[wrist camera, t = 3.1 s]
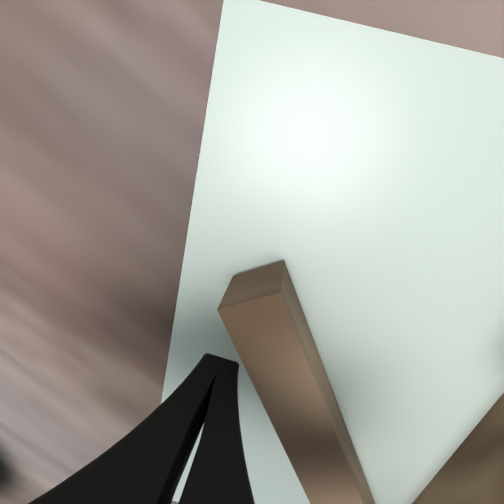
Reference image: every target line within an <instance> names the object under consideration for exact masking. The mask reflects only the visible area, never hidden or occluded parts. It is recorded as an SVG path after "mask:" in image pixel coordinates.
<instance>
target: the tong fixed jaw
mask: <svg viewBox="0 0 504 504" xmlns="http://www.w3.org/2000/svg"><path fill="white" fill-rule="evenodd" d="M412 504H504V393H503V394H502V395H501V396H500V398H499V399H498V400H497V401H496V402H495V404H494V405H493V406H492V407H491V409H490V410H489V411H488V412H487V413H486V415H485V416H484V417H483V418H482V419H481V421H480V422H479V423H478V424H477V425H476V427H475V428H474V429H473V430H472V432H471V433H470V434H469V435H468V436H467V438H466V439H465V440H464V441H463V442H462V444H461V445H460V446H459V447H458V448H457V450H456V451H455V452H454V453H453V455H452V456H451V457H450V458H449V459H448V461H447V462H446V463H445V464H444V465H443V467H442V468H441V469H440V470H439V471H438V473H437V474H436V475H435V476H434V478H433V479H432V480H431V481H430V482H429V484H428V485H427V486H426V487H425V488H424V490H423V491H422V492H421V493H420V494H419V496H418V497H417V498H416V499H415V501H414V502H413V503H412Z"/></svg>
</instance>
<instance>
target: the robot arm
mask: <svg viewBox="0 0 504 504" xmlns="http://www.w3.org/2000/svg"><path fill="white" fill-rule="evenodd" d="M238 370H239V364H238V362H236V361H232V360H229V359H226V358H222V357H219V356H216V355H212V354H209V353H206V354H204V355H203V357H202V358H201V360H200V361H199V362H198V364H197V365H196V366H195V368H194V369H193V370H192V371H191V373H190V374H189V375H188V376H187V377H186V379H185V380H184V381H183V382H182V383H181V384H180V385H179V386H178V387H177V388H176V389H175V391H174V392H173V393H172V394H171V395H170V396H169V397H168V398H167V399H166V400H165V401H164V402H163V403H162V404H161V405H160V406H159V407H158V408H157V409H156V410H154V411H153V412H152V413H151V414H150V415H149V416H148V417H147V418H146V419H145V420H144V421H142V422H141V423H140V424H139V425H138V426H137V427H136V428H134V429H133V430H132V431H131V432H130V433H128V434H127V435H126V436H125V437H124V438H122V439H121V440H120V441H118V442H117V443H116V444H115V445H113V446H112V447H111V448H110V449H108V450H107V451H106V452H104V453H103V454H102V455H100V456H99V457H98V458H96V459H95V460H94V461H92V462H91V463H89V464H88V465H86V466H85V467H83V468H82V469H81V470H79V471H78V472H76V473H75V474H73V475H72V476H70V477H69V478H67V479H66V480H65V481H63V482H62V483H60V484H59V485H57V486H56V487H54V488H53V489H51V490H49V491H48V492H46V493H45V494H43V495H41V496H40V497H38V498H37V499H35V500H33V501H32V502H30V503H28V504H171V502H172V499H173V496H174V494H175V491H176V489H177V486H178V484H179V481H180V479H181V476H182V474H183V472H184V469H185V467H186V464H187V462H188V460H189V457H190V455H191V452H192V450H193V448H194V445H195V443H196V440H197V438H198V436H199V433H200V431H201V428H202V426H203V429H202V433H201V438H200V442H199V445H198V448H197V451H196V453H195V456H194V459H193V462H192V465H191V468H190V471H189V474H188V477H187V480H186V483H185V486H184V489H183V492H182V494H181V497H180V500H179V503H178V504H255V502H254V498H253V494H252V490H251V485H250V481H249V476H248V471H247V466H246V461H245V456H244V450H243V443H242V436H241V429H240V420H239V408H238ZM203 424H204V425H203Z"/></svg>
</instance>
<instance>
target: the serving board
mask: <svg viewBox="0 0 504 504" xmlns="http://www.w3.org/2000/svg"><path fill="white" fill-rule="evenodd" d="M281 261H285V264H286V267H287V269H288V272H289V275H290V277H291V280H292V283H293V285H294V288H295V291H296V293H297V296H298V299H299V301H300V304H301V307H302V309H303V312H304V315H305V317H306V320H307V323H308V325H309V328H310V331H311V333H312V336H313V339H314V341H315V344H316V347H317V349H318V352H319V355H320V357H321V360H322V363H323V365H324V368H325V371H326V373H327V376H328V379H329V381H330V384H331V387H332V389H333V392H334V395H335V397H336V400H337V403H338V405H339V408H340V411H341V413H342V416H343V419H344V422H345V424H346V427H347V430H348V432H349V435H350V438H351V440H352V443H353V446H354V448H355V451H356V454H357V456H358V459H359V462H360V464H361V467H362V470H363V472H364V475H365V478H366V480H367V483H368V486H369V488H370V491H371V494H372V496H373V499H374V502H375V504H412V503H413V502H414V501H415V499H416V498H417V497H418V496H419V494H420V493H421V492H422V491H423V490H424V488H425V487H426V486H427V485H428V484H429V482H430V481H431V480H432V479H433V478H434V476H435V475H436V474H437V473H438V471H439V470H440V469H441V468H442V467H443V465H444V464H445V463H446V462H447V461H448V459H449V458H450V457H451V456H452V455H453V453H454V452H455V451H456V450H457V448H458V447H459V446H460V445H461V444H462V442H463V441H464V440H465V439H466V438H467V436H468V435H469V434H470V433H471V432H472V430H473V429H474V428H475V427H476V425H477V424H478V423H479V422H480V421H481V419H482V418H483V417H484V416H485V415H486V413H487V412H488V411H489V410H490V409H491V407H492V406H493V405H494V404H495V402H496V401H497V400H498V399H499V398H500V396H501V395H502V394H503V393H504V58H500V57H495V56H491V55H487V54H483V53H479V52H474V51H470V50H466V49H462V48H457V47H453V46H449V45H445V44H441V43H436V42H432V41H428V40H424V39H419V38H415V37H411V36H407V35H403V34H398V33H394V32H390V31H386V30H382V29H377V28H373V27H369V26H365V25H360V24H356V23H352V22H348V21H344V20H339V19H335V18H331V17H327V16H322V15H318V14H314V13H310V12H306V11H301V10H297V9H293V8H289V7H284V6H280V5H276V4H272V3H268V2H263V1H259V0H224V2H223V9H222V15H221V22H220V28H219V35H218V41H217V47H216V54H215V60H214V67H213V73H212V79H211V86H210V92H209V99H208V105H207V111H206V118H205V124H204V131H203V137H202V143H201V150H200V156H199V163H198V169H197V176H196V182H195V188H194V195H193V201H192V208H191V214H190V220H189V227H188V233H187V240H186V246H185V252H184V259H183V265H182V272H181V278H180V285H179V291H178V297H177V304H176V310H175V317H174V323H173V329H172V336H171V342H170V349H169V355H168V361H167V368H166V374H165V381H164V387H163V394H162V400H161V404H162V403H163V402H164V401H165V400H166V399H167V398H168V397H169V396H170V395H171V394H172V393H173V392H174V391H175V389H176V388H177V387H178V386H179V385H180V384H181V383H182V382H183V381H184V380H185V379H186V377H187V376H188V375H189V374H190V373H191V371H192V370H193V369H194V368H195V366H196V365H197V364H198V362H199V361H200V360H201V358H202V357H203V355H204V354H206V353H209V354H212V355H216V356H219V357H222V358H226V359H229V360H232V361H236V362H238V364H239V370H238V408H239V420H240V429H241V436H242V443H243V450H244V456H245V461H246V466H247V471H248V476H249V481H250V485H251V490H252V494H253V498H254V502H255V504H310V502H309V500H308V498H307V496H306V494H305V492H304V489H303V487H302V485H301V483H300V481H299V479H298V477H297V475H296V473H295V471H294V469H293V467H292V465H291V462H290V460H289V458H288V456H287V454H286V452H285V450H284V448H283V446H282V444H281V442H280V440H279V438H278V435H277V433H276V431H275V429H274V427H273V425H272V423H271V421H270V419H269V417H268V415H267V413H266V410H265V408H264V406H263V404H262V402H261V400H260V398H259V396H258V394H257V392H256V390H255V388H254V386H253V383H252V381H251V379H250V377H249V375H248V373H247V371H246V369H245V367H244V365H243V363H242V361H241V359H240V356H239V354H238V352H237V350H236V348H235V346H234V344H233V342H232V340H231V338H230V336H229V334H228V332H227V329H226V327H225V325H224V323H223V321H222V319H221V317H220V315H219V313H218V311H217V308H218V306H219V304H220V302H221V300H222V298H223V296H224V294H225V292H226V289H227V287H228V285H229V283H230V281H231V279H232V277H233V275H237V274H240V273H244V272H247V271H250V270H254V269H257V268H260V267H264V266H267V265H271V264H274V263H277V262H281ZM203 425H204V424H203ZM202 429H203V426H202V428H201V431H200V433H199V436H198V438H197V440H196V443H195V445H194V448H193V450H192V452H191V455H190V457H189V460H188V462H187V464H186V467H185V469H184V472H183V474H182V476H181V479H180V481H179V484H178V486H177V489H176V491H175V494H174V496H173V499H172V500H173V501H176V502H179V500H180V497H181V494H182V492H183V489H184V486H185V483H186V480H187V477H188V474H189V471H190V468H191V465H192V462H193V459H194V456H195V453H196V451H197V448H198V445H199V442H200V438H201V433H202Z"/></svg>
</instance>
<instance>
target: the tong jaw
mask: <svg viewBox="0 0 504 504" xmlns="http://www.w3.org/2000/svg"><path fill="white" fill-rule="evenodd" d="M217 311H218V313H219V315H220V317H221V319H222V321H223V323H224V325H225V327H226V329H227V332H228V334H229V336H230V338H231V340H232V342H233V344H234V346H235V348H236V350H237V352H238V354H239V356H240V359H241V361H242V363H243V365H244V367H245V369H246V371H247V373H248V375H249V377H250V379H251V381H252V383H253V386H254V388H255V390H256V392H257V394H258V396H259V398H260V400H261V402H262V404H263V406H264V408H265V410H266V413H267V415H268V417H269V419H270V421H271V423H272V425H273V427H274V429H275V431H276V433H277V435H278V438H279V440H280V442H281V444H282V446H283V448H284V450H285V452H286V454H287V456H288V458H289V460H290V462H291V465H292V467H293V469H294V471H295V473H296V475H297V477H298V479H299V481H300V483H301V485H302V487H303V489H304V492H305V494H306V496H307V498H308V500H309V502H310V504H375V502H374V499H373V496H372V494H371V491H370V488H369V486H368V483H367V480H366V478H365V475H364V472H363V470H362V467H361V464H360V462H359V459H358V456H357V454H356V451H355V448H354V446H353V443H352V440H351V438H350V435H349V432H348V430H347V427H346V424H345V422H344V419H343V416H342V413H341V411H340V408H339V405H338V403H337V400H336V397H335V395H334V392H333V389H332V387H331V384H330V381H329V379H328V376H327V373H326V371H325V368H324V365H323V363H322V360H321V357H320V355H319V352H318V349H317V347H316V344H315V341H314V339H313V336H312V333H311V331H310V328H309V325H308V323H307V320H306V317H305V315H304V312H303V309H302V307H301V304H300V301H299V299H298V296H297V293H296V291H295V288H294V285H293V283H292V280H291V277H290V275H289V272H288V269H287V267H286V264H285V261H281V262H277V263H274V264H271V265H267V266H264V267H260V268H257V269H254V270H250V271H247V272H244V273H240V274H237V275H233V277H232V279H231V281H230V283H229V285H228V287H227V289H226V292H225V294H224V296H223V298H222V300H221V302H220V304H219V306H218V308H217Z"/></svg>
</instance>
